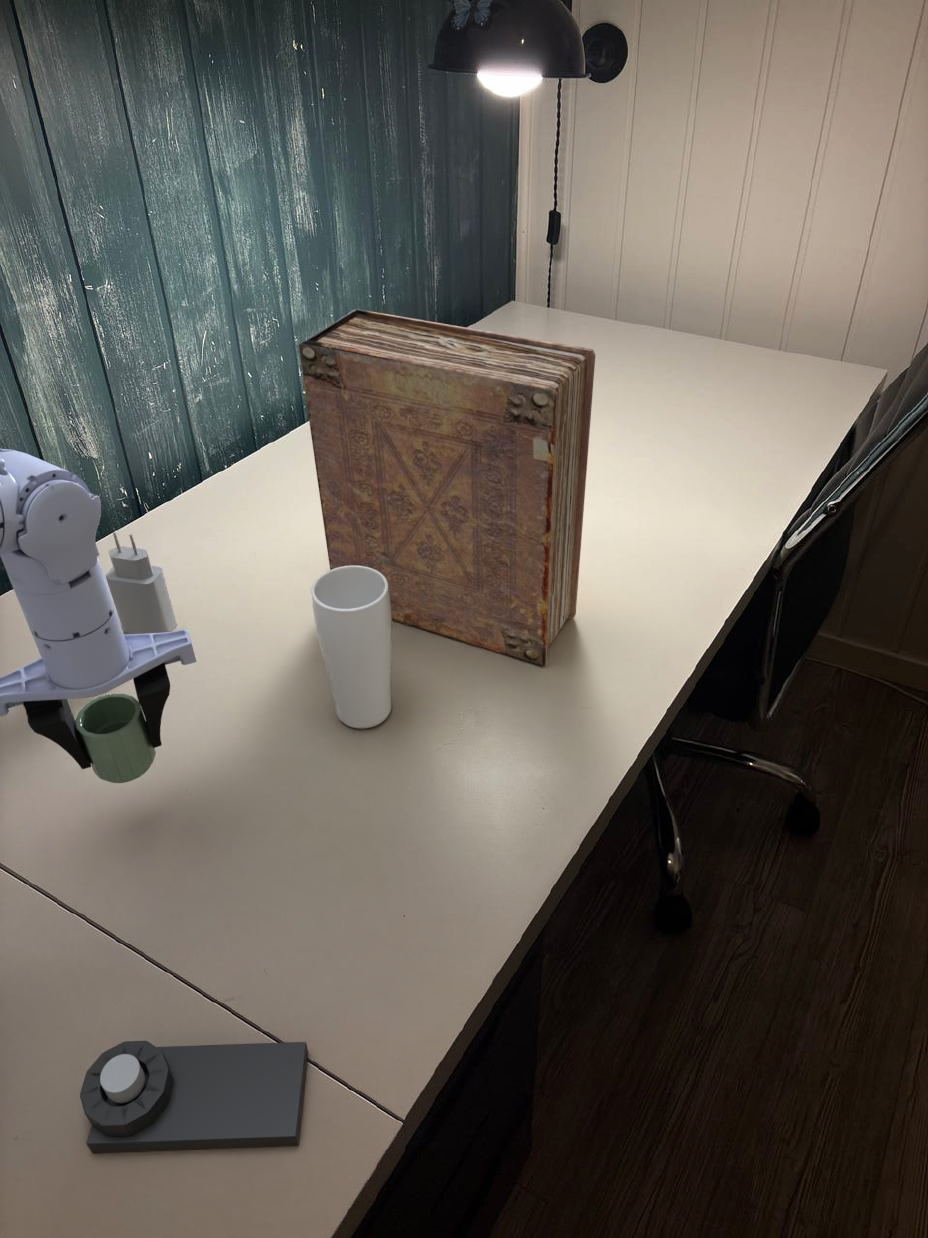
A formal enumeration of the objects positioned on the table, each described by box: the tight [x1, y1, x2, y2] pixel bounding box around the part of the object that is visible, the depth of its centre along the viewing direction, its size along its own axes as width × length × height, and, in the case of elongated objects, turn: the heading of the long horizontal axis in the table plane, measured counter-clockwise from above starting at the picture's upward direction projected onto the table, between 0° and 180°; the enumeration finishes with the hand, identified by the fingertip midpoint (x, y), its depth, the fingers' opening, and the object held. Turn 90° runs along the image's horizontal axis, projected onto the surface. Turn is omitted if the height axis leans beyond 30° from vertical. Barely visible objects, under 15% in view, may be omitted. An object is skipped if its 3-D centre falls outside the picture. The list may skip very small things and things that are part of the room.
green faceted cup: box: [75, 693, 157, 784], centre depth 72 cm, size 5×5×6 cm
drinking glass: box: [310, 565, 393, 729], centre depth 83 cm, size 7×7×15 cm
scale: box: [79, 1040, 309, 1154], centre depth 59 cm, size 14×6×3 cm, turn 92°
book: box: [298, 308, 596, 668], centre depth 91 cm, size 25×9×30 cm, turn 63°
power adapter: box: [105, 531, 178, 635], centre depth 95 cm, size 3×5×12 cm, turn 76°
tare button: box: [100, 1054, 145, 1103], centre depth 58 cm, size 2×2×2 cm
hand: (121, 749), depth 73 cm, fingers closed on green faceted cup, 5 cm apart
